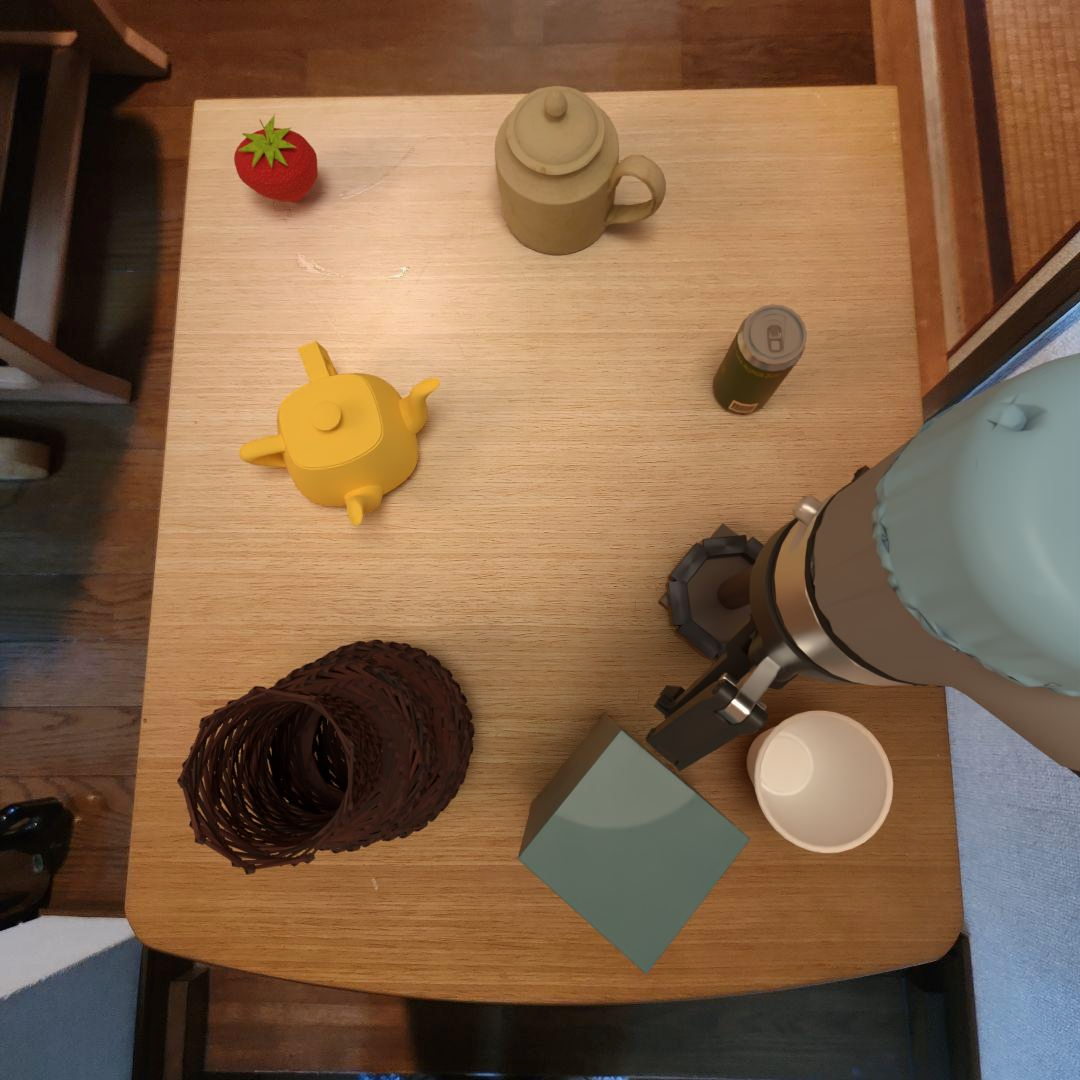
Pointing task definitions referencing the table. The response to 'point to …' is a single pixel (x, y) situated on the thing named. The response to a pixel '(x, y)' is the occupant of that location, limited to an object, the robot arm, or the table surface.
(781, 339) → the beer can
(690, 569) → the ring
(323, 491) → the teapot
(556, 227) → the lidded mug
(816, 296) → the table surface
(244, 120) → the table surface
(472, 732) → the vase
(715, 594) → the holder
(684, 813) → the stand
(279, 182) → the strawberry
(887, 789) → the cup
